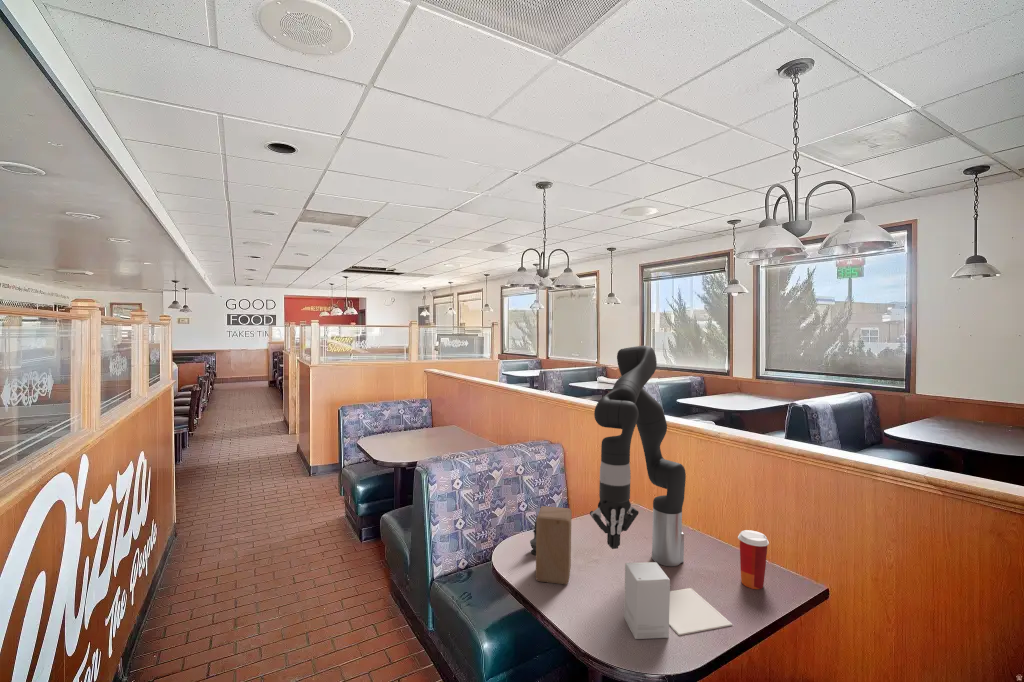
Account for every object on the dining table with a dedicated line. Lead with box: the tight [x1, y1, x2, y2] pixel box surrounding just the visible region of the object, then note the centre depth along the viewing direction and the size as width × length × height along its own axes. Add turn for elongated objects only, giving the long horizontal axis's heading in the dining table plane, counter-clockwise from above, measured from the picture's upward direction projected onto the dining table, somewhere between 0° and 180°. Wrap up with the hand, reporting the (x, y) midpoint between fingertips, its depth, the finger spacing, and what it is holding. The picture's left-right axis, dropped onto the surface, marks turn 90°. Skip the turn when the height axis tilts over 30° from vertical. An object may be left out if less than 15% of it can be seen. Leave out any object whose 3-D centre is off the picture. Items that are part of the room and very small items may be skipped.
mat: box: [669, 587, 733, 636], centre depth 126 cm, size 16×17×1 cm
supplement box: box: [623, 561, 671, 640], centre depth 119 cm, size 9×9×15 cm
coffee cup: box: [737, 529, 770, 590], centre depth 139 cm, size 8×8×15 cm
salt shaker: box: [529, 520, 537, 557], centre depth 157 cm, size 6×6×12 cm
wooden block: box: [535, 505, 573, 585], centre depth 143 cm, size 10×10×20 cm
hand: (613, 547), depth 116 cm, fingers closed
